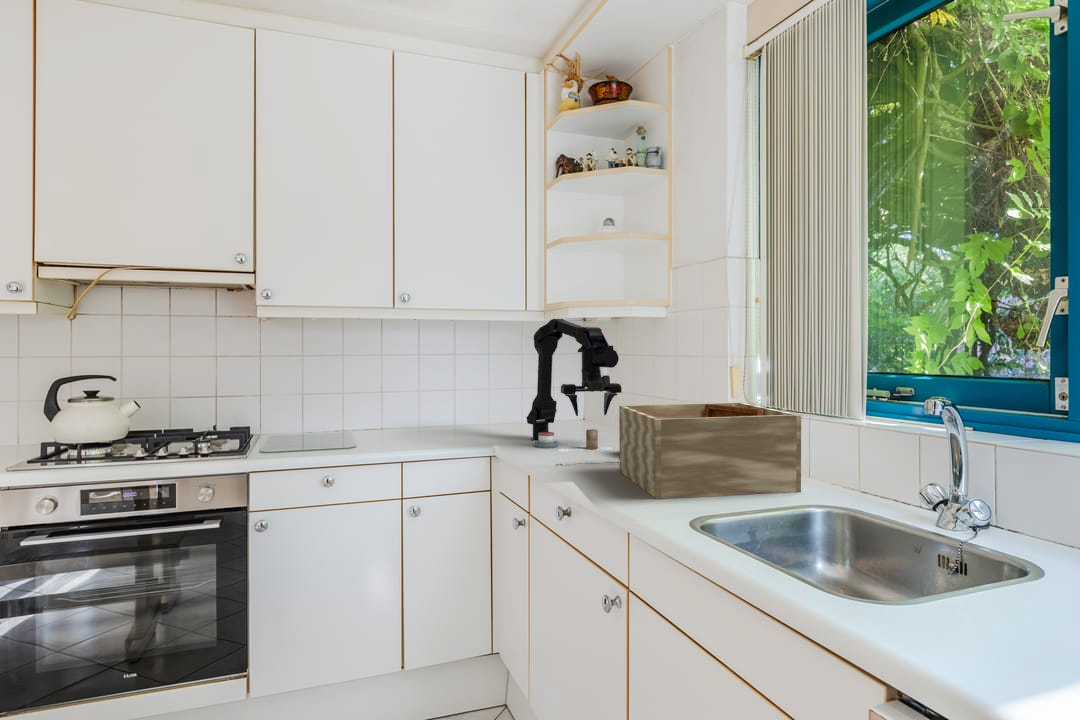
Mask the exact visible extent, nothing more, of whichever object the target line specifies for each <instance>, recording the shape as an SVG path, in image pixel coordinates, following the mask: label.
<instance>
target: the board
mask: <svg viewBox="0 0 1080 720" xmlns="http://www.w3.org/2000/svg"><path fill="white" fill-rule="evenodd" d="M534 447H535V448H537V449H554V448H555V449H557V451H559V452H561V453H562V452H583V451H585V452H586V451H589V450H588V449H586V447H585V448H584V447H583V448H582V447H580V448H579V447H578V448H577V447H576V448H575V447H574V448H558V447H559V442H558V440H557V441H556V440H554V443H547V444H545V443H539V441H534ZM607 450H608V451H610V450H611V451H612V450H614V448H613V447H610V446H607V447H601V446H600V447H598V449H597V450H596V451H607Z"/></svg>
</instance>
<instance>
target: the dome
mask: <svg viewBox="0 0 1080 720" xmlns="http://www.w3.org/2000/svg"><path fill="white" fill-rule="evenodd" d="M538 435H539V443H545V444H547V443H554V441H555V432H554V431H553V432H552V431H549V432H540V433H538Z"/></svg>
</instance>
